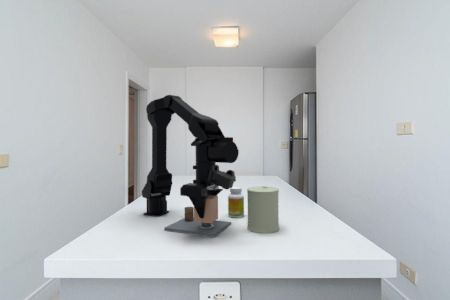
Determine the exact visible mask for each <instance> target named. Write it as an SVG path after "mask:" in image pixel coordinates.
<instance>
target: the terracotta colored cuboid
mask: <svg viewBox="0 0 450 300" xmlns="http://www.w3.org/2000/svg"><path fill="white" fill-rule="evenodd" d="M193 207H194V206H193ZM218 219H219V196H218V195H217V196H209V197H208V198H207V199H206V203H205V213H204V218H200V217H199V215H198V213H197V211H196V209H195V207H194V221H195V222H203V223H212V222H213V221H215V220H217V221H218Z"/></svg>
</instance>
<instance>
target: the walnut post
mask: <svg viewBox="0 0 450 300" xmlns="http://www.w3.org/2000/svg"><path fill="white" fill-rule="evenodd" d="M184 218H185V221H186V222H191V221H194V206H185V207H184Z"/></svg>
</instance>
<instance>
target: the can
mask: <svg viewBox="0 0 450 300" xmlns="http://www.w3.org/2000/svg"><path fill="white" fill-rule="evenodd" d="M246 190H247V230H248V231H250V232H252V231H253V232H252V233H256V234H257V233H258V234H273V233H276V232H278V231H279V230H280V226H279V225H280V224H279V223H280V222H279V188H276V187H273V186H253V187H248V188H247V189H246Z"/></svg>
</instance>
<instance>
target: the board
mask: <svg viewBox="0 0 450 300" xmlns="http://www.w3.org/2000/svg"><path fill="white" fill-rule="evenodd" d="M200 224H201V222H195V221H191V222H186V221H185V217H183V218H181V219H179V220H177V221H175V222H173V223H171V224H168V225H167V226H165V227H163V229H164V231H167V232H172V233H182V234H188V235H195V236H204V237H211V238H216V237H217V236H219V234H221V233H222V232H223V231H225V230H227V228H229V227H230V226H232V221H226V220H225V221H224V220H218V219H217V220H215V221H213V222H212V223H211V224H213V225H214V227H213V228H211V229H200V228H199V225H200Z"/></svg>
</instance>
